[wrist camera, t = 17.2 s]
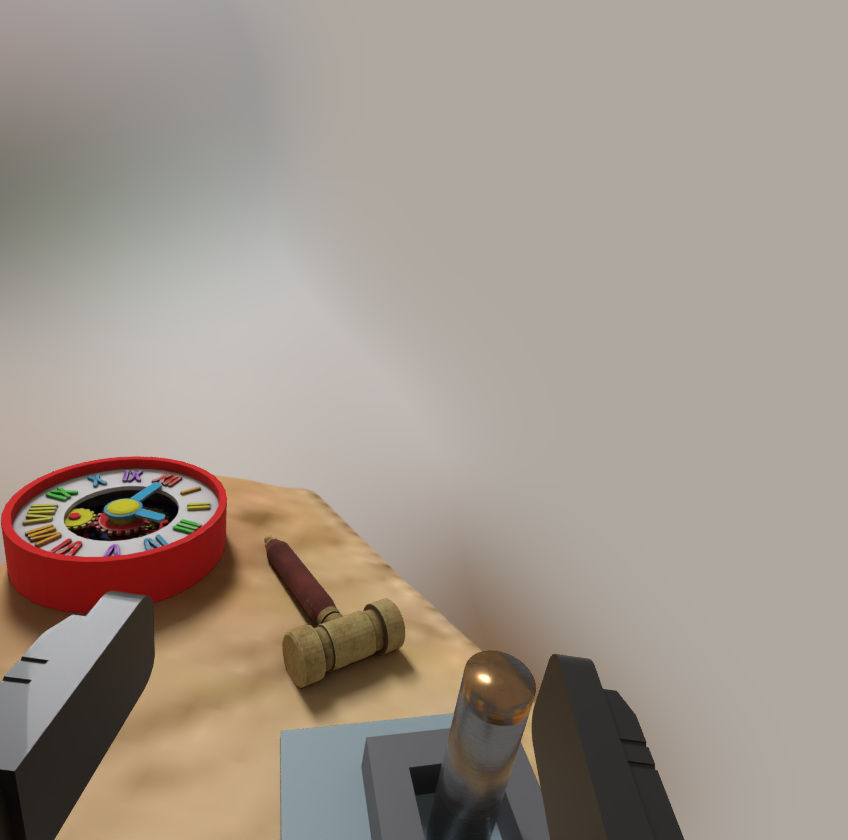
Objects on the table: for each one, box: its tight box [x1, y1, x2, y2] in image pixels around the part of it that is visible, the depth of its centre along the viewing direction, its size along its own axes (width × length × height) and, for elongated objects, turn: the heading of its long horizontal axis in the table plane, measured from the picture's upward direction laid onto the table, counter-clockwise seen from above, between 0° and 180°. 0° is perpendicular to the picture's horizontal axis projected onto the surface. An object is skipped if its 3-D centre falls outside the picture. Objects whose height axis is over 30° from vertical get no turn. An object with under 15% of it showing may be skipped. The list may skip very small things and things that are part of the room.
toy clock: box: [1, 457, 227, 613], centre depth 57 cm, size 20×6×20 cm
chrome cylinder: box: [426, 651, 536, 840], centre depth 33 cm, size 4×4×14 cm
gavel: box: [264, 536, 405, 688], centre depth 55 cm, size 21×5×10 cm
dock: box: [280, 713, 550, 840], centre depth 35 cm, size 18×18×4 cm
